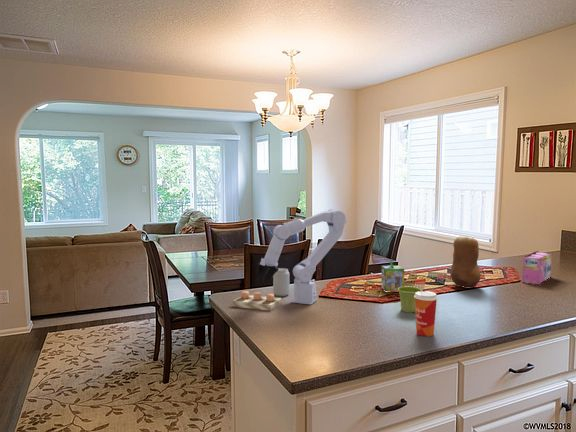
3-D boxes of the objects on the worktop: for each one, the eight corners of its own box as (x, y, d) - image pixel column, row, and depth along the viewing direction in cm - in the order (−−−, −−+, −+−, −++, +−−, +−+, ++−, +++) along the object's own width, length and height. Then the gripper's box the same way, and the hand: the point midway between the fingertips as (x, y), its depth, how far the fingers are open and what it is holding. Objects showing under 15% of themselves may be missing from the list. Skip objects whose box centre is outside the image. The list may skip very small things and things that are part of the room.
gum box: (535, 275, 233) (536, 250, 231) (552, 277, 227) (553, 252, 226) (521, 282, 216) (522, 256, 215) (539, 285, 210) (540, 258, 209)
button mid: (262, 299, 181) (262, 292, 181) (259, 301, 178) (259, 294, 178) (255, 298, 182) (255, 292, 182) (252, 300, 179) (252, 294, 179)
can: (287, 297, 192) (287, 271, 191) (271, 296, 194) (271, 270, 193) (290, 292, 200) (290, 267, 199) (275, 292, 201) (275, 267, 200)
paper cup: (409, 330, 149) (410, 290, 148) (431, 329, 149) (431, 290, 148) (418, 338, 141) (419, 297, 140) (440, 337, 142) (441, 296, 140)
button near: (275, 300, 179) (275, 294, 179) (272, 302, 176) (272, 296, 176) (268, 299, 180) (268, 293, 180) (264, 301, 177) (264, 295, 177)
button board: (282, 303, 182) (281, 297, 182) (271, 310, 172) (271, 304, 172) (244, 299, 189) (244, 293, 189) (232, 306, 179) (232, 300, 179)
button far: (250, 297, 183) (250, 291, 183) (246, 299, 180) (246, 293, 180) (243, 297, 185) (243, 290, 184) (239, 299, 182) (239, 292, 181)
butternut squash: (482, 286, 209) (483, 235, 207) (477, 292, 198) (479, 239, 196) (452, 282, 217) (453, 234, 215) (446, 288, 206) (448, 237, 204)
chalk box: (404, 293, 197) (405, 261, 196) (384, 293, 198) (385, 262, 196) (399, 288, 207) (400, 258, 205) (380, 288, 207) (381, 258, 206)
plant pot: (421, 308, 174) (422, 287, 173) (421, 315, 165) (421, 293, 165) (398, 306, 177) (398, 285, 176) (396, 312, 168) (396, 291, 168)
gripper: (272, 250, 188) (261, 278, 188) (259, 247, 175) (247, 277, 175) (286, 255, 186) (274, 284, 185) (273, 253, 172) (261, 284, 172)
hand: (262, 281), depth 180 cm, fingers open, 7 cm apart
